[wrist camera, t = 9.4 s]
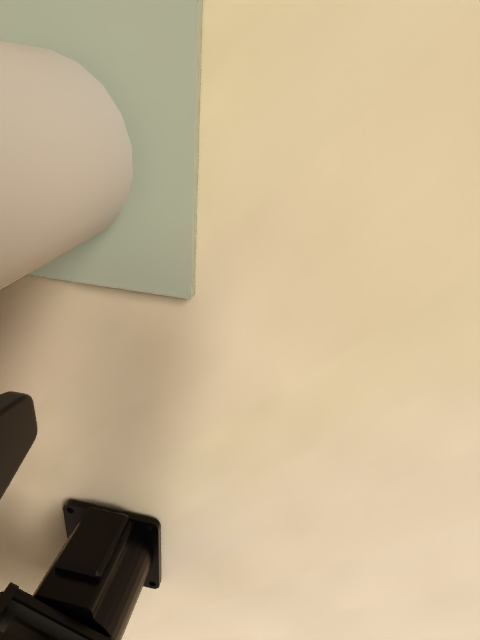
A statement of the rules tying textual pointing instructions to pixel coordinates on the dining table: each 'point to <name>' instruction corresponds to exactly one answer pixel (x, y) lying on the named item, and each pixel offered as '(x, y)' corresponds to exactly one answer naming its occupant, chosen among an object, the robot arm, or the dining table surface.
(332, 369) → the dining table surface
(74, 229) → the can
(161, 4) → the mat
